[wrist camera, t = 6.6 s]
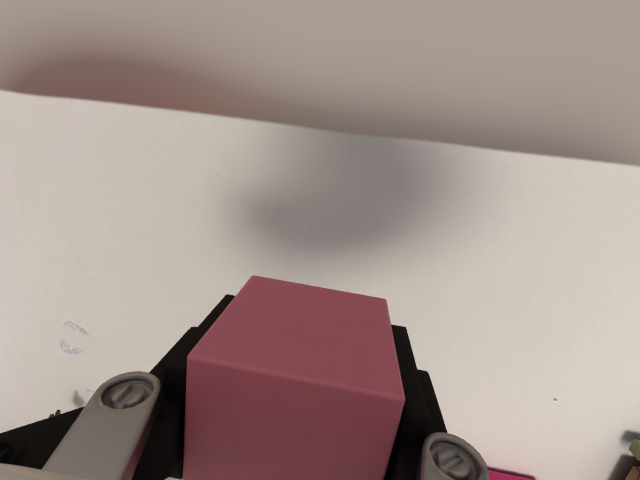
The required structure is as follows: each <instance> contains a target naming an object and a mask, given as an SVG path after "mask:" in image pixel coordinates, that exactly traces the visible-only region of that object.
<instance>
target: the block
mask: <svg viewBox="0 0 640 480" xmlns="http://www.w3.org/2000/svg"><path fill="white" fill-rule="evenodd" d="M404 403H405V395H404V390H403V385H402V380H401V375H400V369H399V364H398V359H397V354H396V348H395V343H394V338H393V333H392V327H391V322H390V317H389V312H388V306H387V301H386V300H385V299H382V298H377V297H371V296H365V295H360V294H354V293H349V292H343V291H338V290H332V289H326V288H321V287H315V286H310V285H304V284H299V283H293V282H287V281H282V280H276V279H271V278H265V277H260V276H252V277H251V278H250V279H249V280H248V281H247V283H246V284H245V285H244V286H243V288H242V289H241V290H240V291H239V293H238V294H237V295H236V296H235V298H234V299H233V300H232V301H231V302H230V304H229V305H228V306H227V307H226V309H225V310H224V311H223V312H222V314H221V315H220V316H219V317H218V319H217V320H216V321H215V322H214V324H213V325H212V326H211V327H210V328H209V330H208V331H207V332H206V333H205V335H204V336H203V337H202V338H201V340H200V341H199V342H198V343H197V345H196V346H195V347H194V348H193V349H192V351H191V352H190V353H189V355H188V356H187V375H186V402H185V430H184V457H183V480H384V478H385V474H386V470H387V466H388V463H389V459H390V455H391V451H392V448H393V444H394V440H395V436H396V433H397V429H398V425H399V421H400V418H401V414H402V410H403V406H404Z"/></svg>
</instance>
